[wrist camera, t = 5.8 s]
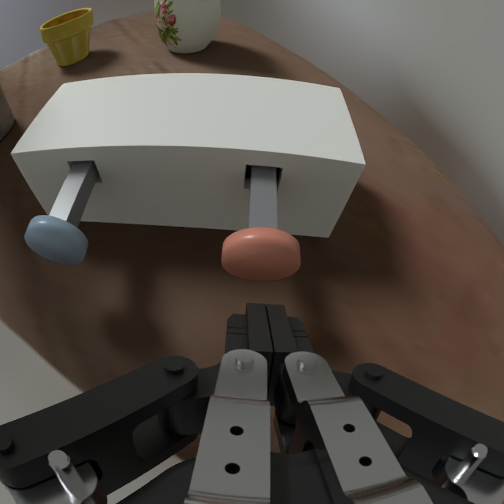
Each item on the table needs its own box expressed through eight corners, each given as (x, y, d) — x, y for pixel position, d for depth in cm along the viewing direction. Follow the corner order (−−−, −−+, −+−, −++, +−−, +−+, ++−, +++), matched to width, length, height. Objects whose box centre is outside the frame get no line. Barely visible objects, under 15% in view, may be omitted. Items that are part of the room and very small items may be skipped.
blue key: (93, 267, 19) (67, 231, 15) (43, 262, 18) (13, 227, 15) (124, 172, 23) (112, 130, 19) (79, 173, 23) (62, 134, 19)
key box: (328, 237, 27) (365, 164, 19) (50, 219, 25) (10, 153, 17) (317, 158, 32) (339, 88, 24) (84, 148, 30) (63, 83, 22)
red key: (292, 283, 19) (309, 247, 16) (221, 278, 19) (221, 240, 15) (287, 181, 24) (299, 138, 20) (231, 176, 23) (233, 132, 20)
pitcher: (181, 29, 50) (180, -29, 38) (242, 50, 45) (248, -20, 33) (134, 44, 46) (128, -18, 34) (190, 68, 40) (189, -13, 28)
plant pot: (106, 52, 44) (100, 8, 35) (58, 76, 40) (46, 31, 31) (87, 44, 47) (81, 6, 38) (44, 65, 43) (34, 26, 34)
